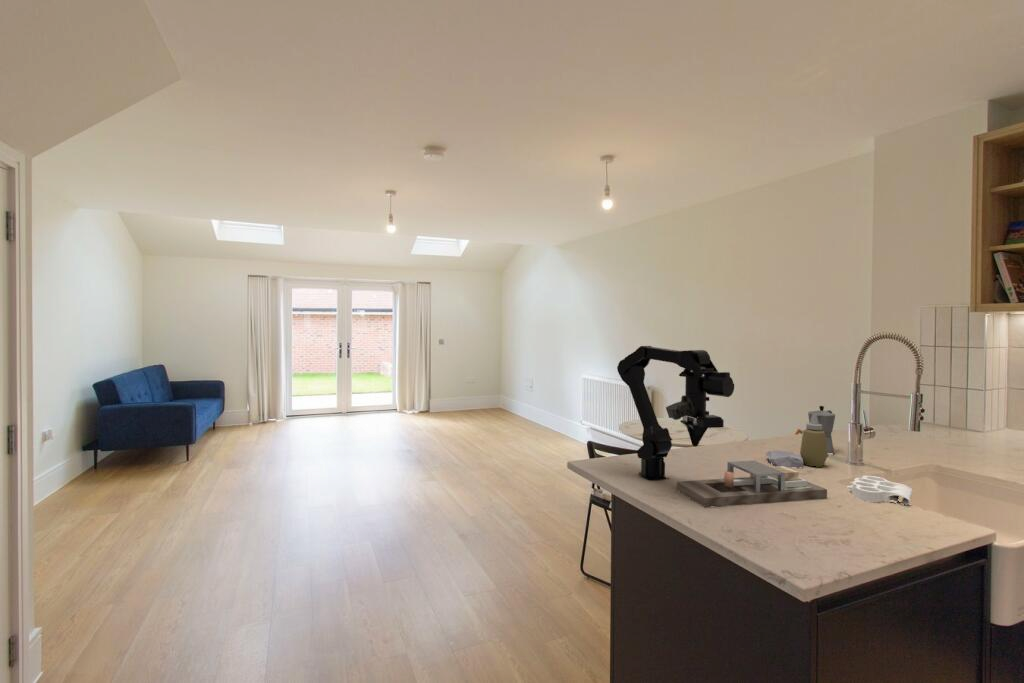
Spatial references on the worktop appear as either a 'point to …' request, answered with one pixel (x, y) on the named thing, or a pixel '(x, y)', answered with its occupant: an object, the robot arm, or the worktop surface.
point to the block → (787, 474)
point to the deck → (745, 492)
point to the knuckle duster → (879, 490)
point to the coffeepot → (825, 425)
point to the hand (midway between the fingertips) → (694, 446)
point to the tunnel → (758, 473)
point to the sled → (731, 482)
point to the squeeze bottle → (813, 444)
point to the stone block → (785, 458)
